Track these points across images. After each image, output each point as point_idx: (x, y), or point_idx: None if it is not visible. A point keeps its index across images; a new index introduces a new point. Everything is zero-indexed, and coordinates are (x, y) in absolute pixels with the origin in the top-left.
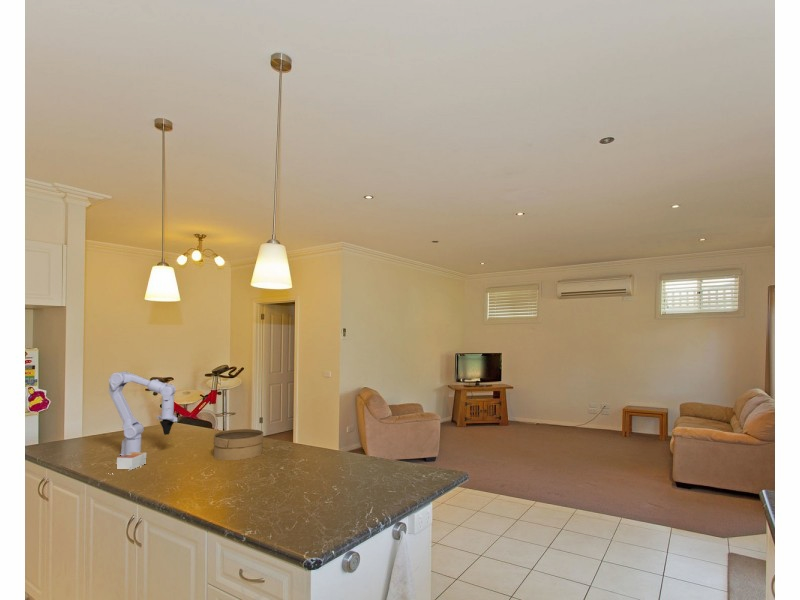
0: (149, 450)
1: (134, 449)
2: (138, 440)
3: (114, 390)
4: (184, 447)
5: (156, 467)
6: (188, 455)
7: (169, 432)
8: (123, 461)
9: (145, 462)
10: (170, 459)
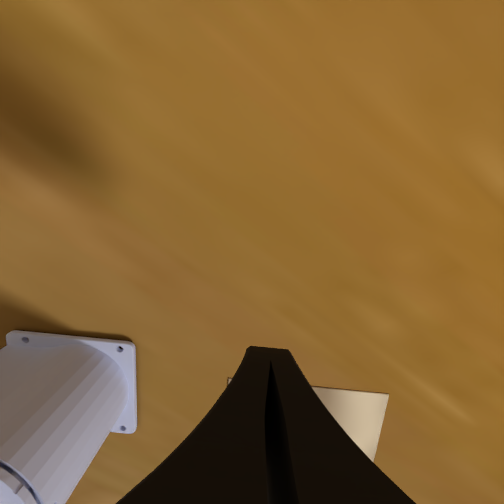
0: (41, 244)
1: (104, 438)
2: (58, 484)
3: None
4: (188, 13)
5: (473, 489)
6: (455, 212)
7: (295, 364)
8: None
9: None
10: (411, 347)
